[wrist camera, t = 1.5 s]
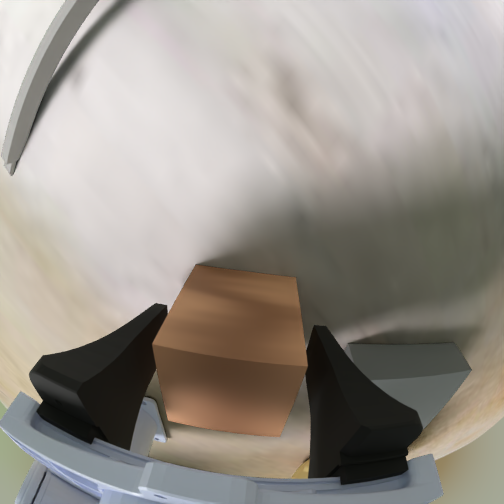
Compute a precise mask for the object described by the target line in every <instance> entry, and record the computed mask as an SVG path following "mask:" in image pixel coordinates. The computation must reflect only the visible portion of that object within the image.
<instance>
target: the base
mask: <svg viewBox="0 0 504 504" xmlns="http://www.w3.org/2000/svg"><path fill="white" fill-rule="evenodd" d="M345 353H346V354H347V356H348V357H349V358H350V359H351V361H352V362H353V363H354V364H355V365H356V366H357V367H358V369H359V370H360V371H361V372H362V373H363V374H364V375H365V376H366V377H367V378H369V379H370V380H371V381H372V382H373V383H374V384H375V385H377V386H378V387H379V388H380V389H382V390H383V391H384V392H385V393H387V394H388V395H390V396H391V397H393V398H394V399H396V400H397V401H399V402H401V403H402V404H404V405H406V406H408V407H410V408H412V409H414V410H416V411H417V412H418V415H419V417H420V420H421V423H422V426H423V429H424V428H425V427H426V426H427V425H428V424H429V423H430V422H431V420H432V419H433V418H434V417H435V416H436V415H437V414H438V413H439V412H440V410H441V409H442V408H443V407H444V406H445V405H446V403H447V402H448V401H449V400H450V398H451V397H452V396H453V395H454V393H455V392H456V391H457V390H458V388H459V387H460V386H461V384H462V383H463V382H464V380H465V379H466V378H467V376H468V375H469V373H470V372H471V370H472V369H471V367H470V366H469V364H468V363H467V361H466V359H465V358H464V356H463V355H462V353H461V352H460V350H459V349H458V347H457V346H456V344H455V343H438V344H348V345H347V347H346V350H345Z"/></svg>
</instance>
